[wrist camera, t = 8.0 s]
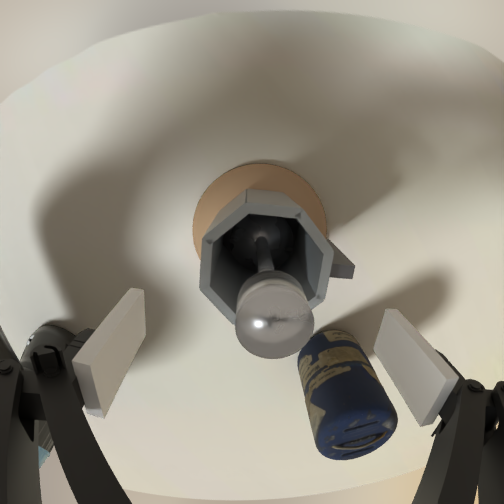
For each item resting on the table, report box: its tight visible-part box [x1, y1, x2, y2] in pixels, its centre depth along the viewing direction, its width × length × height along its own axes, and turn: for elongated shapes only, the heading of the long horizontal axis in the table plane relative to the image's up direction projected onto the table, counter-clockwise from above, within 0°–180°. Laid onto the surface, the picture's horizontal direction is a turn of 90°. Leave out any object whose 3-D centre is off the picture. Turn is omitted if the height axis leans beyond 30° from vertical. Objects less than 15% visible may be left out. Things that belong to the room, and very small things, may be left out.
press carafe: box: [193, 164, 355, 324], centre depth 30 cm, size 16×16×14 cm
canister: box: [298, 330, 398, 460], centre depth 33 cm, size 10×10×18 cm
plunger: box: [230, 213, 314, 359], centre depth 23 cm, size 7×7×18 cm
